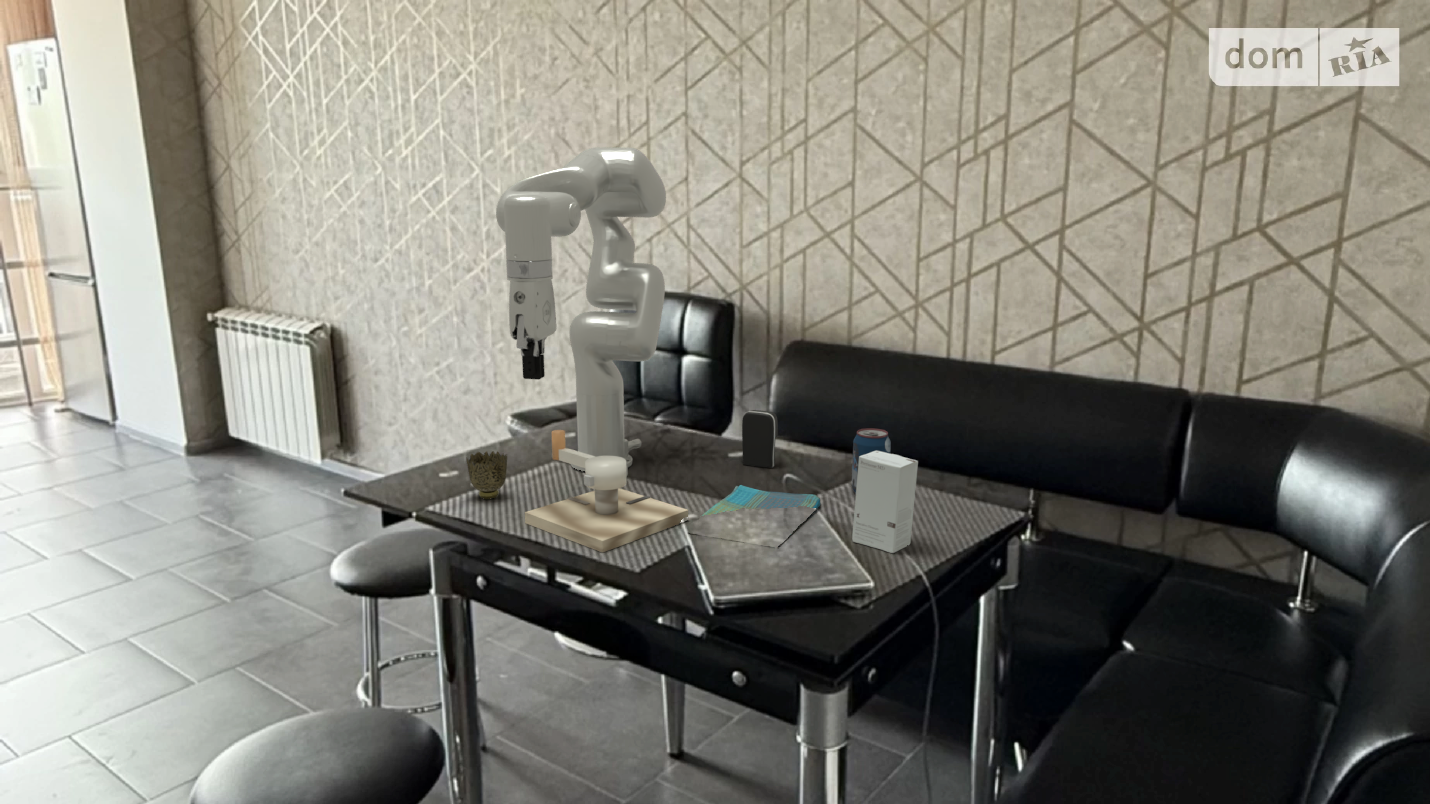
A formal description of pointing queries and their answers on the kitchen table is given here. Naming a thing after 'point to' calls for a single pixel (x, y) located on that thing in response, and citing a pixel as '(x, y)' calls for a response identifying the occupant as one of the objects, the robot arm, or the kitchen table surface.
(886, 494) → the skincare box
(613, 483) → the crank handle
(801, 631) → the kitchen table surface
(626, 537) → the post board
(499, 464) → the cup
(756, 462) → the battery charger
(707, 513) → the dish towel
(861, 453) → the soda can
